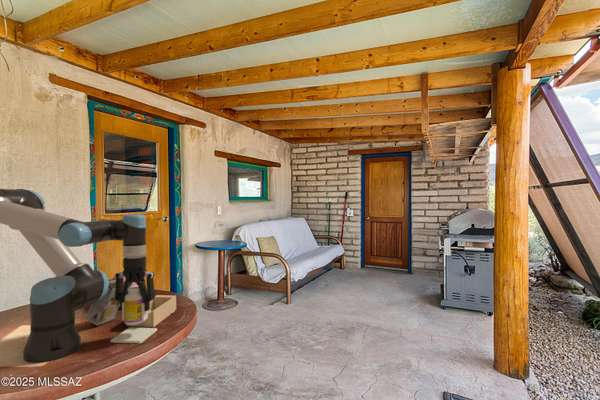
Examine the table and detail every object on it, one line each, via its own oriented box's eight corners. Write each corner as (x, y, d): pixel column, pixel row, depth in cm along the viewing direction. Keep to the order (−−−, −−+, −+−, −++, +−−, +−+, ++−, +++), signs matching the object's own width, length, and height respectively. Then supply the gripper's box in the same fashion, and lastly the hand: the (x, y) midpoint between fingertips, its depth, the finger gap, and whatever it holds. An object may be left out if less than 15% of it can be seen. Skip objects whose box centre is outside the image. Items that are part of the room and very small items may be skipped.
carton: (123, 328, 124) (123, 312, 124) (155, 308, 147) (155, 295, 147) (150, 329, 123) (150, 313, 123) (178, 308, 146) (178, 295, 146)
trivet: (110, 342, 112) (110, 340, 112) (129, 329, 123) (129, 327, 123) (140, 343, 111) (140, 341, 111) (157, 330, 122) (157, 328, 122)
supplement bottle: (137, 326, 113) (137, 289, 113) (120, 325, 114) (120, 289, 114) (148, 319, 120) (148, 284, 120) (132, 318, 120) (131, 284, 120)
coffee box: (102, 312, 135) (117, 277, 134) (114, 319, 133) (129, 284, 133) (84, 318, 125) (100, 281, 125) (96, 326, 124) (113, 288, 124)
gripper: (102, 258, 114) (102, 322, 114) (154, 258, 112) (155, 324, 112) (115, 254, 121) (116, 315, 121) (165, 255, 120) (165, 316, 120)
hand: (135, 319), depth 117 cm, fingers closed on supplement bottle, 7 cm apart
